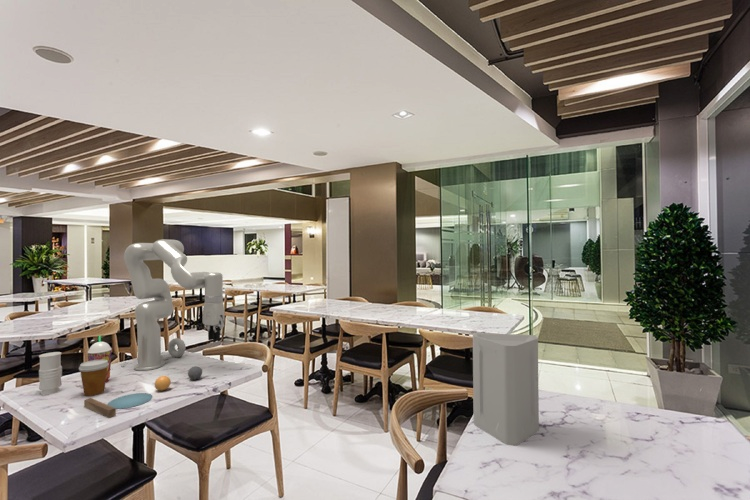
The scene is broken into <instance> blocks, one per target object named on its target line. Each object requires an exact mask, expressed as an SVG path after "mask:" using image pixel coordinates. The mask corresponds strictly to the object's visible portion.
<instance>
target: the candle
mask: <svg viewBox="0 0 750 500" xmlns="http://www.w3.org/2000/svg"><path fill="white" fill-rule="evenodd" d="M61 355H62V352H60V351H53V352H46V353H42V354H39V355H38V358H39V369H38V381H39V388H38V389H39V390H40V391H41V392H40V395H42V396H43V395H44V396H48V395H53V394H56V393H58V392H60V391H61V389H60V387H61V386H62V385H63V384H62V377H63V366H62V365H61V363H62V361H61Z"/></svg>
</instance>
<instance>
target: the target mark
mask: <svg viewBox="0 0 750 500" xmlns="http://www.w3.org/2000/svg"><path fill="white" fill-rule="evenodd" d="M152 399H153V394H151V393H147V392H138V393H137V392H136V393H130V394H125V395H121V396H119V397H117V398H114V399H112V400H110V401H109V402H108V403H107V405H109V406H111V407H114V408H116V410H121V409H122V410H123V409H128V408H133V407H138V406H141V405H143V404H146V403H147V402H149V401H151V400H152Z"/></svg>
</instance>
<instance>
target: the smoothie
mask: <svg viewBox="0 0 750 500" xmlns="http://www.w3.org/2000/svg"><path fill="white" fill-rule="evenodd" d="M101 337H102V336H101V334H100V335H98V341H97V342H95V343H92V345H91V346H90V347H89V349H88V351H87V352H86V353H87V361H92V360H102V359H104V360H107V361H108V363H109V365H108V367H107V374H106V382H105V383H107V382H109V379H110V377H111V370H110V369H111V363H112V349H113V348H112V346H110V344H109V343H108V342H105V341H102V339H101Z"/></svg>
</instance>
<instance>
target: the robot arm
mask: <svg viewBox="0 0 750 500" xmlns="http://www.w3.org/2000/svg"><path fill="white" fill-rule="evenodd" d="M184 251H185V246H184V244H183V243H182V241H180V240H176V239H164V238H163V239H157V240H156V241H154V242H135V243H132V244H129V246H127V247H126V249H125V251H124V253H123V260H124V263H125V266H126V268H127V270H128V271H127V272H128V273H129V278H130V281H131V282H130V283H131V286H132V290H133V295H134V297H135V298H136V299H139V300H148V299H154V300H148V301H144V302H140V303H139V304H137V305H136V307H135V309H134V316H135V320H136V328H137V329H136V330H137V364H135V365H134V366H133V369H134V370H135V371H152V370H156V369H159V368H162V367H163V366H165V361H166V360H168V359H171V357H172V356H171V355H170V354H161V353H162V351H161V350H162V348H161V347H162V345H161V341H162V338H161V335H162V333H161V326H160V324H159V322H158V321H157V320H161V319H165V318H168V317H170V316H171V315H172V314H173V312H174V303H173V298H172V295H171V290H170V287H169V284H168V282H167V281H166V280H164V279H163V278H159V277H158V278H153V277H152V275H151V273H152V272H151V270H150V268H149V267H148V265H147V264H146V263H145V262H144V261H157V260H158V261H162V263H164V264H166V265H167V266H168V267H169V268H170V274H171V277H172V279H173V280H174V281H175V282H176V283H177V284H178V285H179V286H180V287H182V288H183V289H186V290H197V289H204V302H203V307H202V318H201V319H202V324H203V325H204V326H205V327H206V331H207V335H208V336H207V337H208V338H207V340H208V341H213V342H218V341H220V340H221V331H222V329H223V328H224V327H225V307H224V298H223V297H224V294H223V293H224V292H223V287H224V285H223V281H224V280H223V278H224V277H223V274H222V273H221V272H207V271H197V272H196V271H195V272H189V271H188V270H187V269H186V268H185V265H186V264H187V262H188V256H187V255H185V253H184Z"/></svg>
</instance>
